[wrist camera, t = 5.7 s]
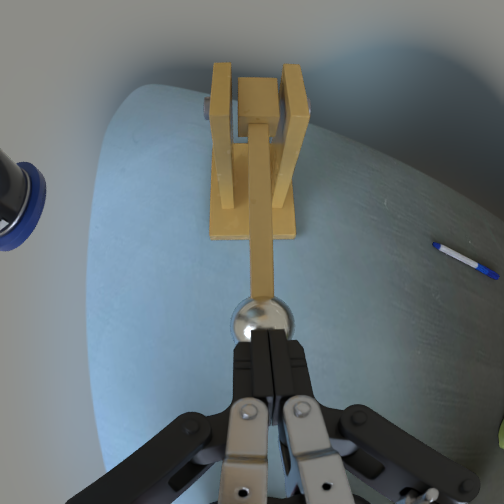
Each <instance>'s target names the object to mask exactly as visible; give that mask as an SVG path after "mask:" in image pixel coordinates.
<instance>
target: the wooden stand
mask: <svg viewBox="0 0 504 504" xmlns="http://www.w3.org/2000/svg"><path fill="white" fill-rule="evenodd" d="M231 81H232V78H231V63H230V62H229V63H227V62H226V63H214V66H213V76H212V87H211V97H205V98H204V117H205V120H210V127H211V134H212V141H213V149H212V170H211V195H210V230H209V236H210V239H211V240H249V179H248V143H233V113H232V82H231ZM279 110H280V119H279V123H278V127H277V131H276V136H275V137H272V143H269V147H270V171H271V198H272V229H273V239H294V238H295V236H296V223H295V210H294V198H293V187H292V176H293V172H294V169H295V166H296V162H297V159H298V156H299V153H300V149H301V146H302V143H303V139H304V136H305V133H306V129H307V126H308V123H309V119H310V114H311V103H310V99H309V98H307V96H306V92H305V86H304V81H303V77H302V72H301V68H300V65H299V64H298V65H297V64H283V70H282V77H281V83H280V90H279Z"/></svg>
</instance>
